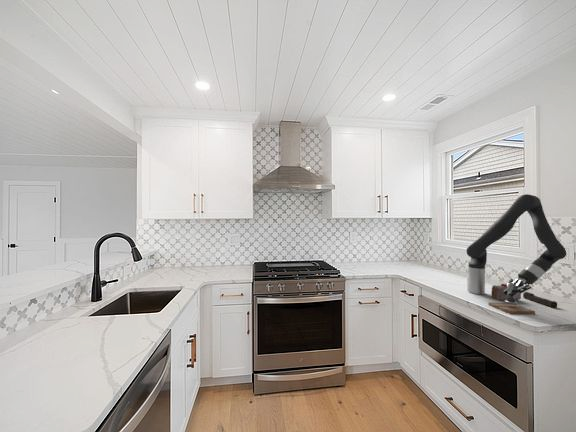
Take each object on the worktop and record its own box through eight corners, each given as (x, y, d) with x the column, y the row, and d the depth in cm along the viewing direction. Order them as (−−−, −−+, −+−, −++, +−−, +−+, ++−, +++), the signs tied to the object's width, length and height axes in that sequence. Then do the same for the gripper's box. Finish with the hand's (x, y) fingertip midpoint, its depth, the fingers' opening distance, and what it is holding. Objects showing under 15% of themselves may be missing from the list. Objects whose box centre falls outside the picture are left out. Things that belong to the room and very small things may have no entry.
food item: (512, 297, 166) (512, 282, 166) (522, 302, 158) (522, 286, 158) (489, 297, 167) (490, 282, 167) (499, 301, 159) (499, 285, 159)
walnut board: (488, 305, 152) (488, 302, 152) (511, 305, 152) (511, 302, 152) (509, 314, 138) (509, 311, 138) (534, 314, 138) (534, 311, 138)
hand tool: (558, 308, 147) (558, 300, 147) (551, 308, 147) (551, 300, 147) (527, 298, 166) (527, 291, 166) (521, 298, 166) (521, 290, 166)
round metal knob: (501, 301, 147) (501, 282, 148) (511, 301, 148) (511, 282, 148) (510, 304, 142) (510, 284, 142) (520, 304, 142) (520, 284, 142)
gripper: (516, 266, 151) (493, 286, 152) (535, 271, 137) (510, 293, 138) (526, 276, 150) (503, 295, 152) (547, 282, 136) (521, 303, 138)
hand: (507, 294), depth 145 cm, fingers closed on round metal knob, 3 cm apart
